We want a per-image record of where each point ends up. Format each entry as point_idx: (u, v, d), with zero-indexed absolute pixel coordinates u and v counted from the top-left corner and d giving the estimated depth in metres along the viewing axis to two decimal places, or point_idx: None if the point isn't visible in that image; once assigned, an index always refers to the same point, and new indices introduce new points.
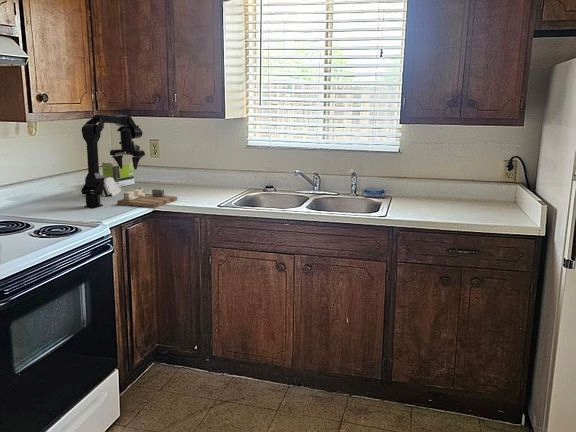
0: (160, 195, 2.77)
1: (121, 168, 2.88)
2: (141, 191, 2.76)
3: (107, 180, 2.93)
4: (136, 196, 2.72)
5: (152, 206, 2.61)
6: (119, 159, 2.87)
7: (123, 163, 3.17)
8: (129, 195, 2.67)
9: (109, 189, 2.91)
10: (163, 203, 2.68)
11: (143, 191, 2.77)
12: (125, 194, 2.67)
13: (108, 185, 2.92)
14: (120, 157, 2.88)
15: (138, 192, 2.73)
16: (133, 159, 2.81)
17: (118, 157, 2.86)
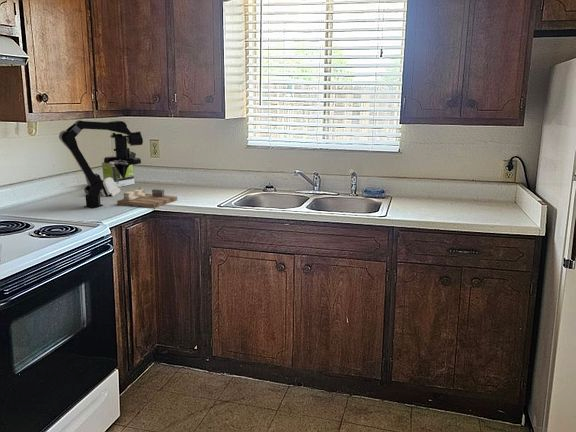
0: (160, 195, 2.77)
1: None
2: (141, 191, 2.76)
3: (107, 180, 2.93)
4: (136, 196, 2.72)
5: (152, 206, 2.61)
6: None
7: None
8: (129, 195, 2.67)
9: (109, 189, 2.91)
10: (163, 203, 2.68)
11: (143, 191, 2.77)
12: (125, 194, 2.67)
13: (108, 185, 2.92)
14: None
15: (138, 192, 2.73)
16: (121, 166, 2.66)
17: None
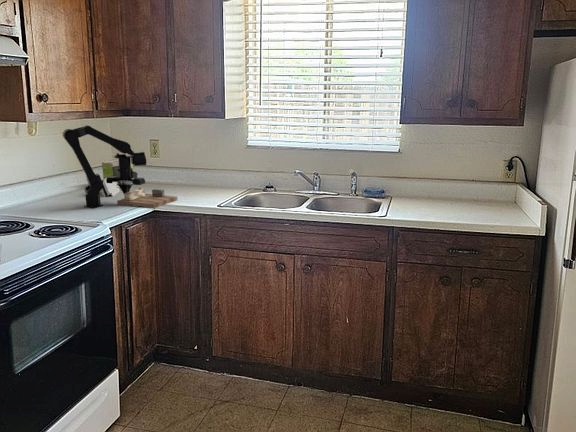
0: (160, 195, 2.77)
1: None
2: (141, 191, 2.76)
3: None
4: (136, 196, 2.72)
5: (152, 206, 2.61)
6: None
7: None
8: (130, 195, 2.67)
9: (109, 189, 2.91)
10: (163, 203, 2.68)
11: (143, 191, 2.77)
12: (126, 194, 2.67)
13: (108, 185, 2.91)
14: None
15: (138, 192, 2.73)
16: (125, 187, 2.68)
17: None
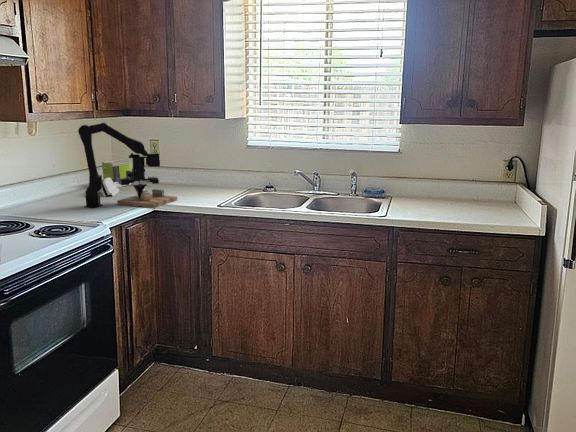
0: (160, 195, 2.77)
1: (139, 197, 2.70)
2: None
3: (106, 180, 2.92)
4: None
5: (152, 206, 2.61)
6: None
7: (123, 163, 3.17)
8: None
9: (109, 189, 2.91)
10: (163, 203, 2.68)
11: None
12: (146, 194, 2.67)
13: (108, 185, 2.91)
14: None
15: None
16: (143, 187, 2.67)
17: None
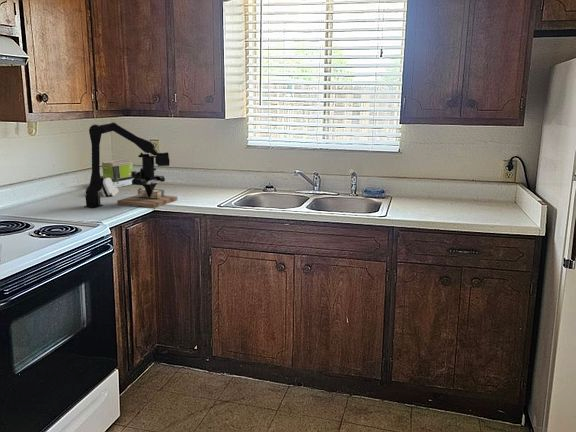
0: None
1: (150, 196, 2.72)
2: None
3: (106, 180, 2.92)
4: None
5: (152, 206, 2.61)
6: None
7: (123, 163, 3.17)
8: None
9: (109, 189, 2.90)
10: (163, 203, 2.68)
11: None
12: (158, 192, 2.72)
13: (108, 185, 2.91)
14: None
15: None
16: (154, 185, 2.71)
17: None
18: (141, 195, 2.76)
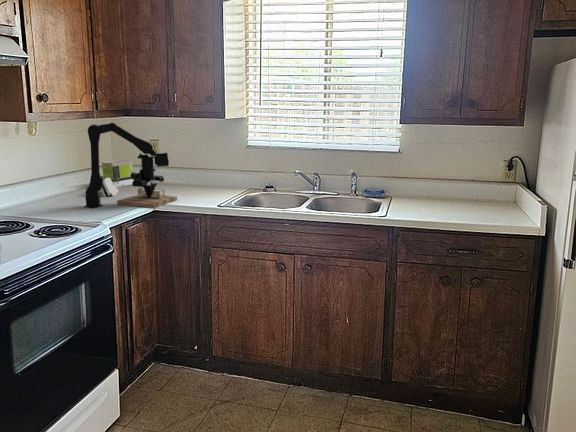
0: None
1: (149, 197, 2.72)
2: None
3: (106, 180, 2.92)
4: None
5: (152, 206, 2.61)
6: None
7: (123, 163, 3.17)
8: None
9: (109, 189, 2.90)
10: (163, 203, 2.68)
11: None
12: (160, 191, 2.73)
13: (108, 185, 2.91)
14: None
15: None
16: (154, 186, 2.71)
17: None
18: (142, 195, 2.76)
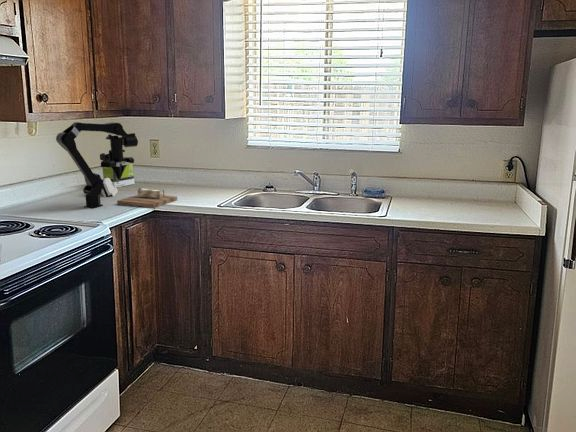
0: None
1: (119, 178, 2.71)
2: None
3: (106, 180, 2.92)
4: None
5: (152, 206, 2.61)
6: None
7: None
8: None
9: (109, 189, 2.90)
10: (163, 203, 2.68)
11: None
12: (160, 191, 2.73)
13: (108, 185, 2.91)
14: None
15: None
16: (124, 167, 2.70)
17: None
18: (142, 195, 2.76)
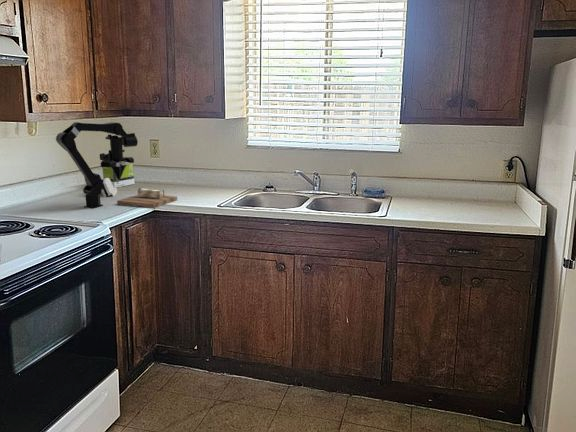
0: None
1: (119, 178, 2.71)
2: None
3: (106, 180, 2.92)
4: None
5: (152, 206, 2.61)
6: None
7: None
8: None
9: (109, 189, 2.90)
10: (163, 203, 2.68)
11: None
12: (160, 191, 2.73)
13: (108, 185, 2.91)
14: None
15: None
16: (124, 167, 2.71)
17: None
18: (142, 195, 2.76)
